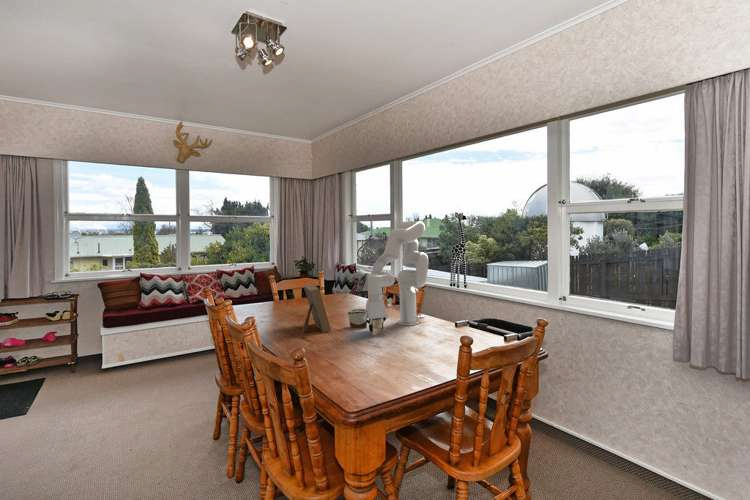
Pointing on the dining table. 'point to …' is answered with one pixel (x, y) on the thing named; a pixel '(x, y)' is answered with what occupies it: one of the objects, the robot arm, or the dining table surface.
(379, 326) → the birch block
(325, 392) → the dining table surface
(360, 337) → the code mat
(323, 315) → the photo frame
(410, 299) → the robot arm
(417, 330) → the dining table surface
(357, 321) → the food container
